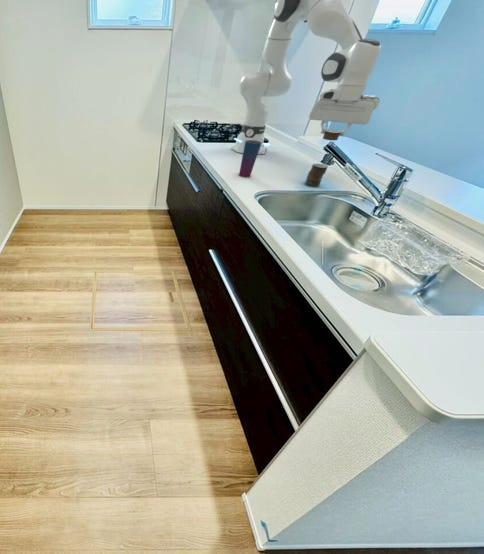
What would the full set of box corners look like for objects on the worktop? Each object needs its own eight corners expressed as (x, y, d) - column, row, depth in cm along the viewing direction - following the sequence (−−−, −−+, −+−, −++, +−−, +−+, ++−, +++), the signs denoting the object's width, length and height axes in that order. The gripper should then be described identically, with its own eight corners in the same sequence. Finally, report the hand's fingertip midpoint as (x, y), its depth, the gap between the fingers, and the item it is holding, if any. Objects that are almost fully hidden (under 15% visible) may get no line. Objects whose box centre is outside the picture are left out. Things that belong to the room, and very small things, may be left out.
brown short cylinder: (323, 137, 123) (326, 129, 122) (338, 138, 121) (341, 131, 119) (321, 139, 120) (324, 131, 118) (336, 141, 117) (339, 133, 116)
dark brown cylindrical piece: (305, 181, 135) (313, 162, 129) (320, 184, 132) (328, 165, 127) (303, 185, 131) (310, 165, 126) (318, 188, 128) (326, 168, 123)
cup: (253, 178, 138) (263, 143, 129) (238, 177, 139) (246, 143, 130) (250, 173, 143) (260, 140, 134) (236, 172, 145) (244, 139, 135)
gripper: (382, 95, 108) (363, 136, 116) (318, 92, 118) (305, 130, 126) (382, 96, 104) (362, 139, 112) (316, 93, 114) (302, 132, 122)
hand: (331, 134), depth 119 cm, fingers closed on brown short cylinder, 5 cm apart
